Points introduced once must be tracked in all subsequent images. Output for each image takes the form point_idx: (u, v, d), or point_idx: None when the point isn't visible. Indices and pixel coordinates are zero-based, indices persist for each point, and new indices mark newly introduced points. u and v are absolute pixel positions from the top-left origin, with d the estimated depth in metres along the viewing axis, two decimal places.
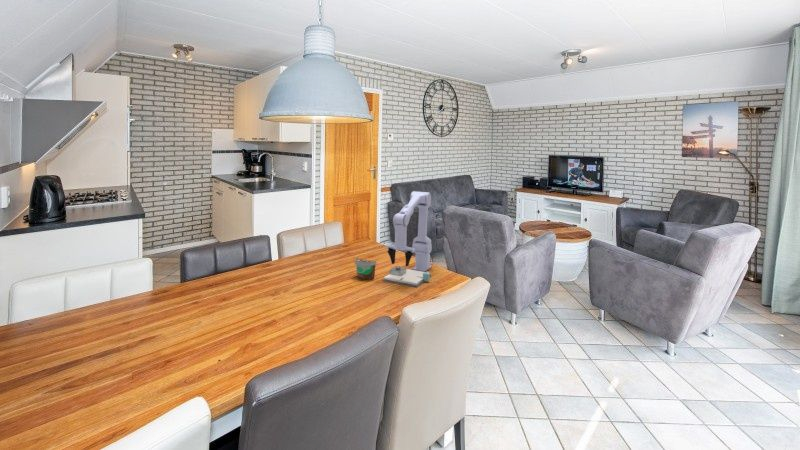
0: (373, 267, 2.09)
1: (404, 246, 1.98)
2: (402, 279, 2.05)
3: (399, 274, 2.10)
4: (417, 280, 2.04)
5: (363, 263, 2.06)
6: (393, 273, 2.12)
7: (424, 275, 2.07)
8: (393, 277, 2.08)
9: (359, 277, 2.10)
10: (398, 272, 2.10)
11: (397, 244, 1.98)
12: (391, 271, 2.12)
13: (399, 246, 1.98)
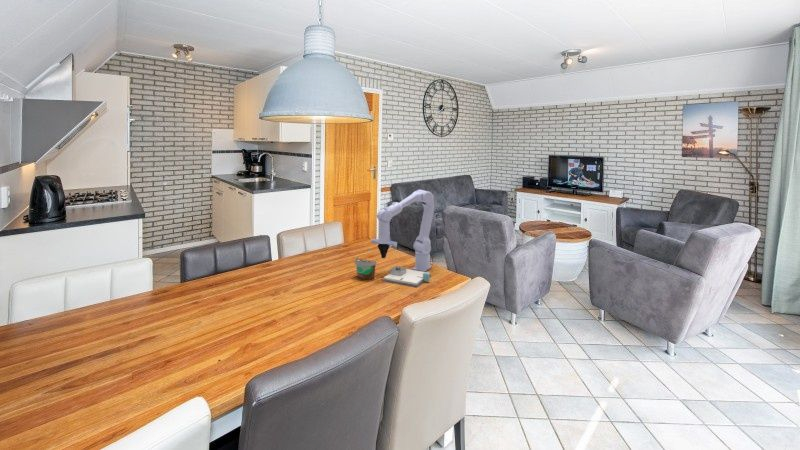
0: (373, 267, 2.09)
1: (387, 240, 2.12)
2: (402, 279, 2.05)
3: (399, 274, 2.10)
4: (417, 280, 2.04)
5: (363, 263, 2.06)
6: (393, 273, 2.12)
7: (424, 275, 2.07)
8: (393, 277, 2.08)
9: (359, 277, 2.10)
10: (398, 272, 2.10)
11: (380, 238, 2.12)
12: (391, 271, 2.12)
13: (382, 240, 2.11)
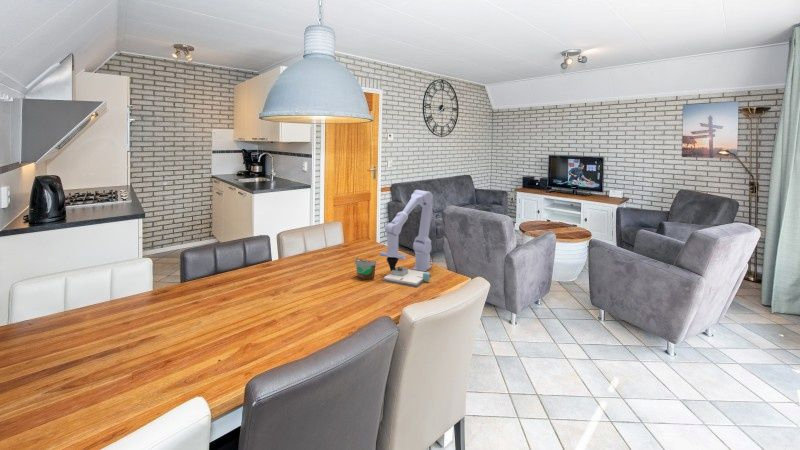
0: (373, 267, 2.09)
1: (396, 253, 2.11)
2: (402, 279, 2.05)
3: (401, 274, 2.10)
4: (417, 280, 2.04)
5: (363, 263, 2.06)
6: (395, 273, 2.11)
7: (424, 275, 2.07)
8: (393, 277, 2.08)
9: (359, 277, 2.10)
10: (400, 272, 2.10)
11: (389, 252, 2.11)
12: (393, 271, 2.11)
13: (391, 253, 2.11)
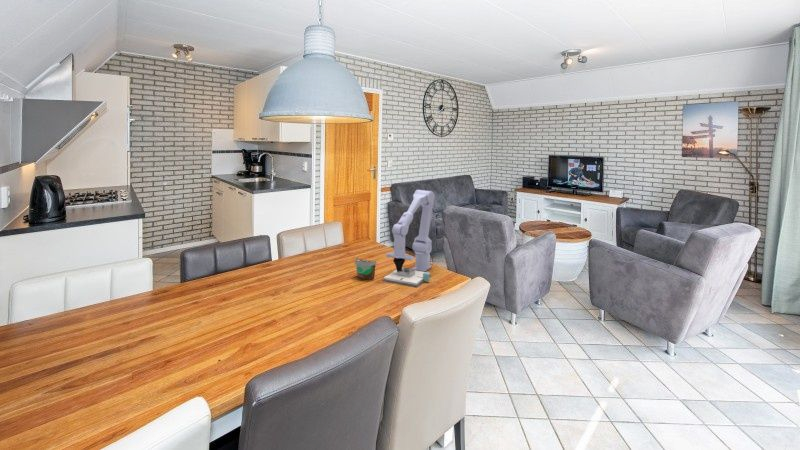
0: (373, 267, 2.09)
1: (403, 254, 2.10)
2: (402, 279, 2.05)
3: (408, 276, 2.08)
4: (417, 280, 2.04)
5: (363, 263, 2.06)
6: (402, 275, 2.09)
7: (424, 275, 2.07)
8: (393, 277, 2.08)
9: (359, 277, 2.10)
10: (407, 274, 2.08)
11: (396, 253, 2.09)
12: (400, 273, 2.10)
13: (398, 254, 2.09)
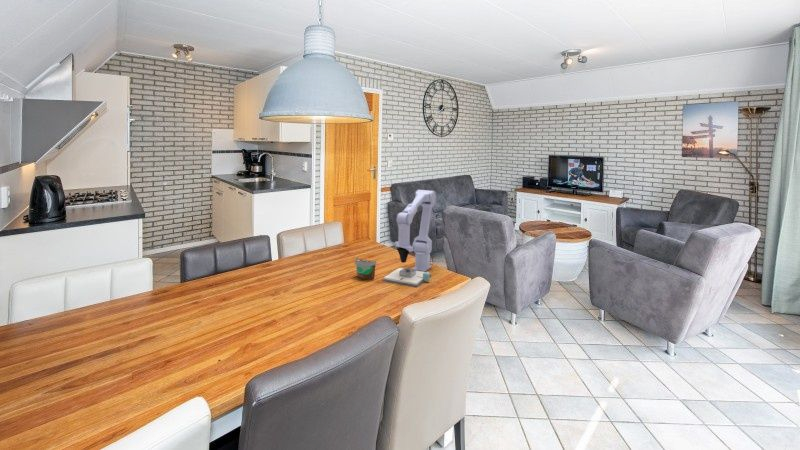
0: (373, 267, 2.09)
1: (404, 244, 2.04)
2: (402, 279, 2.05)
3: (409, 276, 2.08)
4: (417, 280, 2.04)
5: (363, 263, 2.06)
6: (403, 275, 2.09)
7: (424, 275, 2.07)
8: (393, 277, 2.08)
9: (359, 277, 2.10)
10: (408, 274, 2.08)
11: (398, 241, 2.06)
12: (401, 273, 2.10)
13: (399, 243, 2.05)
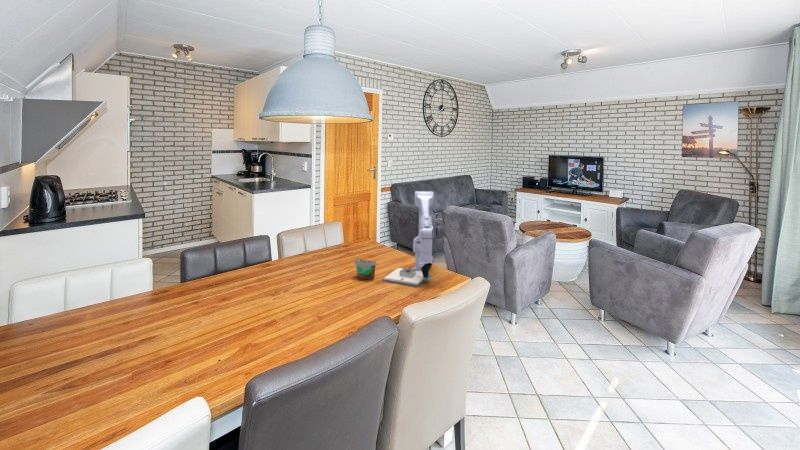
0: (373, 267, 2.09)
1: (422, 259, 2.02)
2: (403, 279, 2.05)
3: (409, 276, 2.08)
4: (418, 280, 2.04)
5: (363, 263, 2.06)
6: (403, 275, 2.09)
7: None
8: (393, 277, 2.07)
9: (359, 277, 2.10)
10: (408, 274, 2.08)
11: None
12: (401, 273, 2.09)
13: (420, 257, 2.05)
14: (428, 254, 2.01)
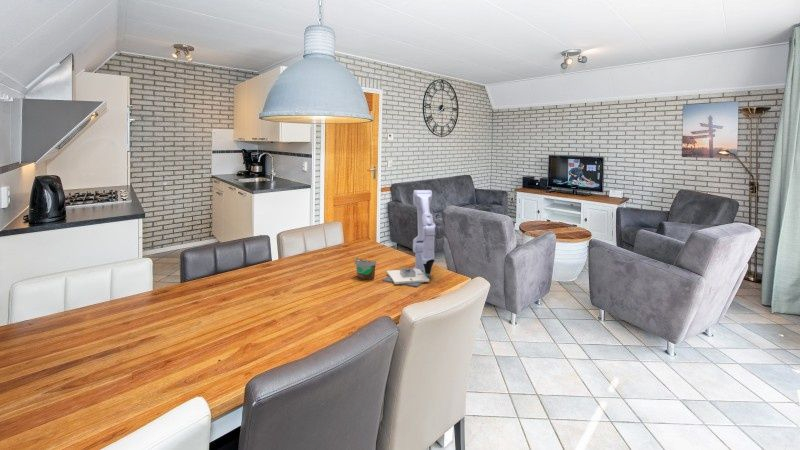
0: (373, 267, 2.09)
1: (424, 256, 2.08)
2: (412, 279, 2.05)
3: (414, 275, 2.09)
4: (425, 277, 2.09)
5: (363, 263, 2.06)
6: (407, 275, 2.08)
7: None
8: (402, 280, 2.04)
9: (359, 277, 2.10)
10: (413, 273, 2.09)
11: None
12: (405, 274, 2.08)
13: (422, 254, 2.10)
14: (431, 251, 2.07)
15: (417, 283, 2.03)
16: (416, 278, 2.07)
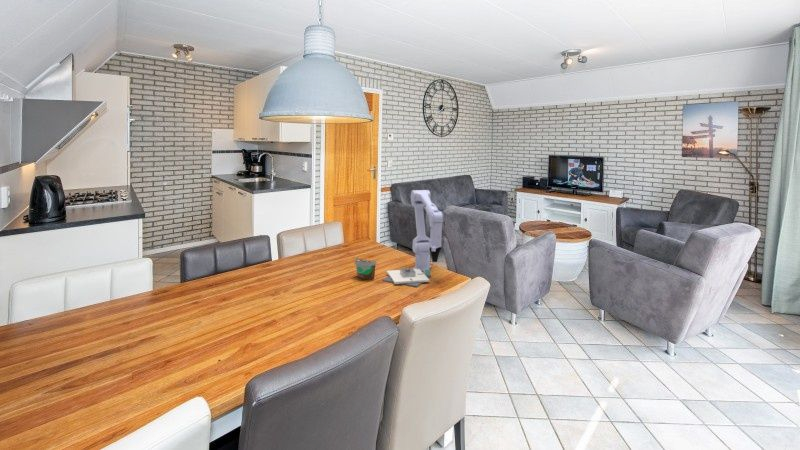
0: (373, 267, 2.09)
1: (432, 243, 2.05)
2: (412, 279, 2.05)
3: (414, 275, 2.09)
4: (425, 277, 2.09)
5: (363, 263, 2.06)
6: (407, 275, 2.08)
7: (426, 271, 2.13)
8: (402, 280, 2.04)
9: (359, 277, 2.10)
10: (413, 273, 2.09)
11: None
12: (405, 274, 2.08)
13: (430, 242, 2.07)
14: (439, 238, 2.04)
15: (417, 283, 2.03)
16: (416, 278, 2.07)
